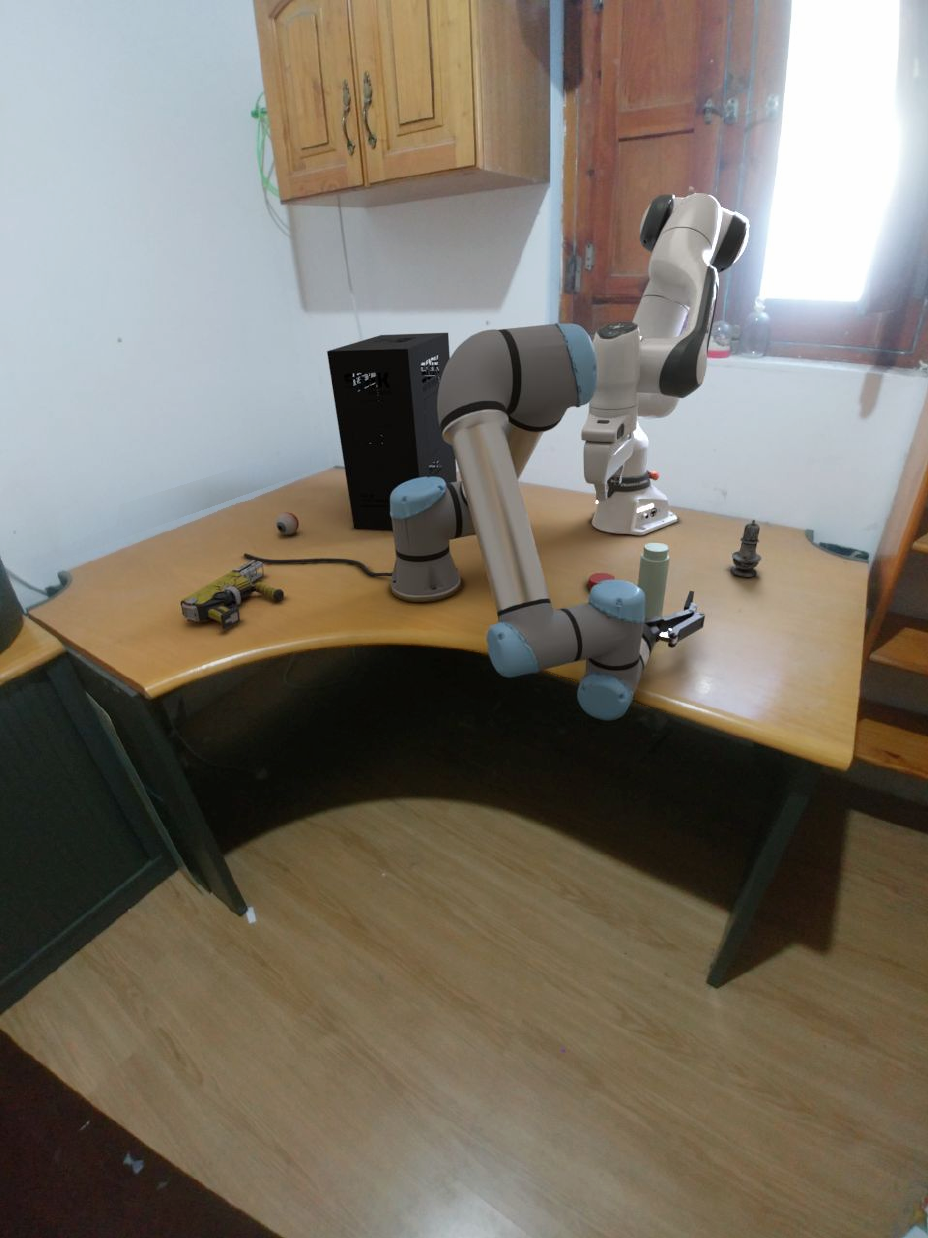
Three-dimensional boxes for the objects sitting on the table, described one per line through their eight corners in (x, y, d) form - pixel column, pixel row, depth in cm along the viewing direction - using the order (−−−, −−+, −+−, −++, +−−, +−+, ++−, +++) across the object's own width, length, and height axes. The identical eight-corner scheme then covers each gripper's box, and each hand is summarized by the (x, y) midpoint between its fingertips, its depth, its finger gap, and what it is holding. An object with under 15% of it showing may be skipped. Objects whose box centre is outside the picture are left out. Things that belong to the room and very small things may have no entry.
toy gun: (305, 569, 137) (249, 557, 141) (237, 616, 117) (174, 600, 121) (306, 587, 139) (251, 575, 143) (240, 636, 119) (178, 621, 123)
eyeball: (273, 537, 164) (268, 516, 161) (287, 528, 169) (282, 508, 166) (291, 539, 161) (286, 518, 158) (305, 530, 166) (301, 510, 163)
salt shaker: (760, 577, 128) (772, 524, 122) (731, 576, 130) (741, 524, 124) (755, 566, 133) (766, 514, 127) (726, 565, 135) (736, 514, 129)
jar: (665, 630, 113) (676, 548, 104) (645, 637, 111) (655, 554, 103) (647, 619, 116) (657, 539, 108) (627, 626, 115) (635, 545, 106)
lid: (583, 584, 131) (583, 575, 130) (605, 578, 132) (605, 570, 131) (597, 594, 126) (598, 586, 125) (620, 588, 128) (621, 580, 127)
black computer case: (424, 530, 162) (407, 348, 139) (353, 528, 166) (326, 351, 144) (457, 486, 193) (448, 332, 171) (397, 485, 198) (380, 334, 175)
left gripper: (552, 652, 104) (588, 597, 120) (704, 685, 94) (720, 620, 110) (553, 614, 100) (590, 563, 116) (711, 644, 90) (727, 584, 106)
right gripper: (612, 406, 121) (609, 474, 128) (577, 433, 106) (576, 507, 113) (644, 407, 118) (639, 476, 125) (613, 435, 103) (609, 511, 110)
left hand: (653, 591), depth 113 cm, fingers open, 13 cm apart
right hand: (609, 491), depth 119 cm, fingers open, 8 cm apart
